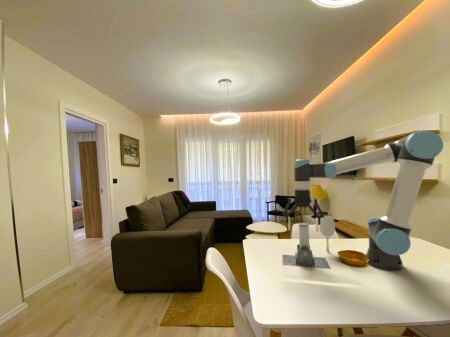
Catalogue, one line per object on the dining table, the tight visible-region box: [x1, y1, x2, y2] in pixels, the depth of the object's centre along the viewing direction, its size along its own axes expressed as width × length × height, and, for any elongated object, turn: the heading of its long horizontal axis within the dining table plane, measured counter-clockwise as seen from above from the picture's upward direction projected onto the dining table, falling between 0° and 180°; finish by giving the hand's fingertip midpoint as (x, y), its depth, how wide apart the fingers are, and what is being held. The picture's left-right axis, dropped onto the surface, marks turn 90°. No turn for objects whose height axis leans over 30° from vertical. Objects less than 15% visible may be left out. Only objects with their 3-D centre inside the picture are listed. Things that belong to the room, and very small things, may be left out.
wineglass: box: [318, 215, 336, 254], centre depth 125 cm, size 9×9×21 cm
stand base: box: [282, 243, 331, 270], centre depth 113 cm, size 22×14×10 cm, turn 76°
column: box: [298, 222, 310, 250], centre depth 112 cm, size 5×5×19 cm
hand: (303, 230), depth 113 cm, fingers open, 13 cm apart
